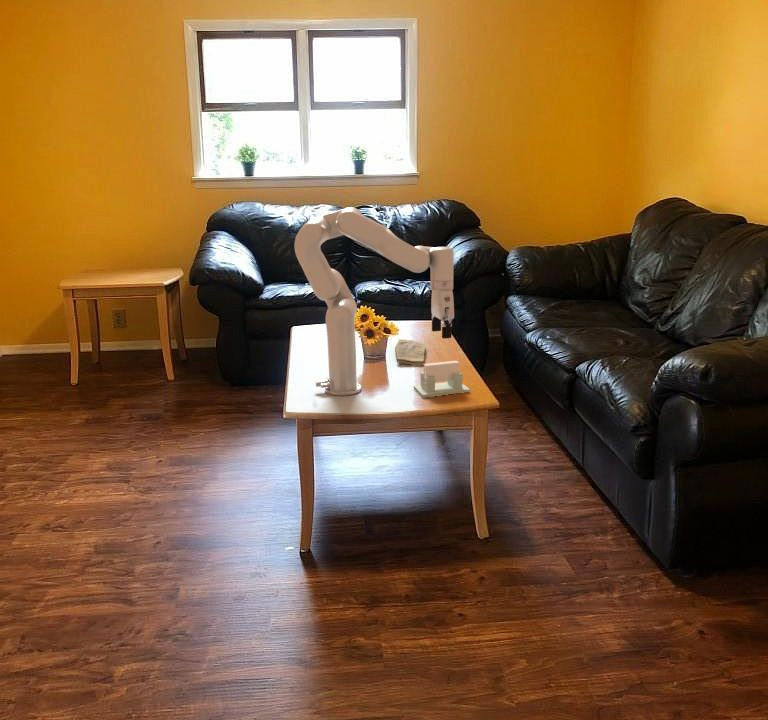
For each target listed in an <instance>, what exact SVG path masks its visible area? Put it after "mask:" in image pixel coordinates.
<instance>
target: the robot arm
mask: <svg viewBox="0 0 768 720" xmlns="http://www.w3.org/2000/svg"><path fill="white" fill-rule="evenodd" d="M342 236H345V237H347V238H348V239H349V238H350V239H351V240H353V241H355V242H357V243H360V244H361V245H363V246H364V247H367V248H369V249H371V250H373V251H375V252H376V253H378V254H379V255H381V256H383V257H385V258H386V259H387V260H389V261H390V262H392V263H394V264H396V265H398V266H400V267H402V268H404V269H406V270H408V271H410V272H412V273H416V274H417V273H418V274H419V273H423V272H425V271H427V270H428V269H429V268H430V290H431V303H430V305H431V307H430V308H431V309H430V311H431V312H430V313H431V331H432V332H433V333H434V332H441V339H444V340H445V339H451V338H452V335H453V334H452V333H453V332H452V327H453V319H454V318H455V304H454V303H455V302H454V301H455V300H454V293H453V290H454V260H455V259H454V249H453V248H451V247H449V246H436V247H433V246H424V245H416V246H413V245H412V244H409V243H408V242H406V241H404V240H403V239H401V238H399V237H398V236H397V235H396V234H395V233H393V232H392V230H391V229H389V228H388V227H387V226H385V225H383V224H381V223H379V222H377V221H375V220H373V219H371V218H369V217H368V216H365V215H363V214H362V212H361V211H360V210H359V209H358V208H356V207H353V206H351V207H350V206H349V207H345V208H342V209H339V210H336V211H332V212H329V213H328V212H327V213H326V214H322V215H318V216H314V217H313V218H311V219H310V220H308V221H306V222H305V223H304V224H303V225H302V226H301V227H300V228H299V230H298V232H297V234H296V236H295V239H294V253H295V256H296V258H297V261H298V263H299V265H300V266H301V268H302V270H303V273H304V275H305V277H306V279H307V281H308V283H309V284H310V286H311V288H312V291H313V292H314V295H315V296H316V297H317V298H318V299H319V300H320V301H324V302H325V303H326V305H327V310H326V313H325V326H326V327H325V328H326V337H327V338H326V339H327V340H326V341H327V358H328V359H327V360H328V361H327V362H328V376H327V377H326V378H325V379H324V380H317V381H316V380H315V386H316V387H320V388H321V389H323V388H324V390H325V391H324V392H326V393H327V394H329V395H333V396H351V395H355V394H358V393H360V392H361V391H362V385H361V383H360V384H359V383H358V382H357V352H356V351H357V350H356V349H357V348H356V347H357V346H356V331H355V330H356V329H355V328H356V327H355V320H356V316H357V314H358V307H357V306H358V305H357V303H356V302H357V301H356V300H355V298H354V297H353V295H352V292H351V290H350V289H349V286H348V285H347V283H346V280H345V278H344V277H343V275H342V274H341V273H340V271H338V270H336V269H334V268H332V267H331V266H330V264H329V263H328V260H327V258H326V257H325V254H324V253H323V252H322V249H321V246H322V244H324V243H325V242H326V241H327V240H331V239H335V238H338V237H342Z"/></svg>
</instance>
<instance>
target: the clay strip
mask: <svg viewBox="0 0 768 720" xmlns="http://www.w3.org/2000/svg"><path fill="white" fill-rule="evenodd" d="M423 372H424V381H425V382H426V377H429V376H435V383H439V382H444V381H445V382H447V381H448V380H453V374H456V373H460V362H459V361H458V360H449V361H439V362H437V361H436V362H430V363H424V366H423Z"/></svg>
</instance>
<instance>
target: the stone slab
mask: <svg viewBox="0 0 768 720" xmlns="http://www.w3.org/2000/svg"><path fill="white" fill-rule="evenodd" d="M425 352H426V345H425V343H424V342H421V341H415V340H412V339H402V338H401V339H398V341H397V343H396V345H395V346H394V353H395V355H396V362H397V363H398V364H399V365H402V366H403V365H409V364H410V365H409V366H412V365H424V364H425V355H424V354H425Z"/></svg>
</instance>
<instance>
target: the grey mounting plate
mask: <svg viewBox="0 0 768 720" xmlns="http://www.w3.org/2000/svg"><path fill="white" fill-rule="evenodd" d="M463 377H464V376H463V373H462V372H459V373H456V374H453V380H447V381H445V382H444V381H442V382H435V376H429V377H426V382H425V381H424V371H422V372H420V384H418V385H416V384H415V385H413V387H412V388H414V389H413V390H414V391H415V390H416V391H415V392H416V393H417V392H418V393H417V394H418V395H419V396H420V395H421V396H422V397H421V396H420V397H421V398H422V399H427V397H429V398H436V397H435V396H437V397H443V396H442V395H446V396H449V395H448V394H454V393H462V392H470V393H471V389H470V388H469V387H468V386H466V385H465V384H464V383H463V382H464V381H463V379H464V378H463ZM454 395H455V394H454Z"/></svg>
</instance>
